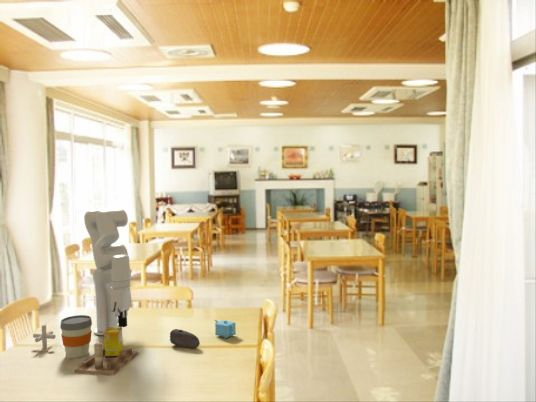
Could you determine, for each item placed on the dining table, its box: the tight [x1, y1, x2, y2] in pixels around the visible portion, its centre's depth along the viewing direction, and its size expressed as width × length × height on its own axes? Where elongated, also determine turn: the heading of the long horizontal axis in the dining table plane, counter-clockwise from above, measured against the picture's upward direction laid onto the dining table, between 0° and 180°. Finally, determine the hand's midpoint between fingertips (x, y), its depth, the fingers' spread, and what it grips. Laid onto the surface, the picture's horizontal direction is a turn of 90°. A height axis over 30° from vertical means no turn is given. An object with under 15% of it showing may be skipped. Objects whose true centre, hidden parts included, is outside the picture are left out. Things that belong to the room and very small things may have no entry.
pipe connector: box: [32, 324, 56, 349], centre depth 217 cm, size 10×10×10 cm
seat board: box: [74, 342, 140, 376], centre depth 198 cm, size 22×16×10 cm
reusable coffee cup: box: [60, 314, 93, 359], centre depth 208 cm, size 13×13×15 cm
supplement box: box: [103, 327, 124, 358], centre depth 203 cm, size 6×6×11 cm
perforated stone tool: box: [169, 328, 201, 349], centre depth 215 cm, size 15×5×7 cm, turn 60°
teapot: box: [214, 319, 236, 339], centre depth 229 cm, size 12×6×8 cm, turn 52°
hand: (122, 326), depth 210 cm, fingers closed
